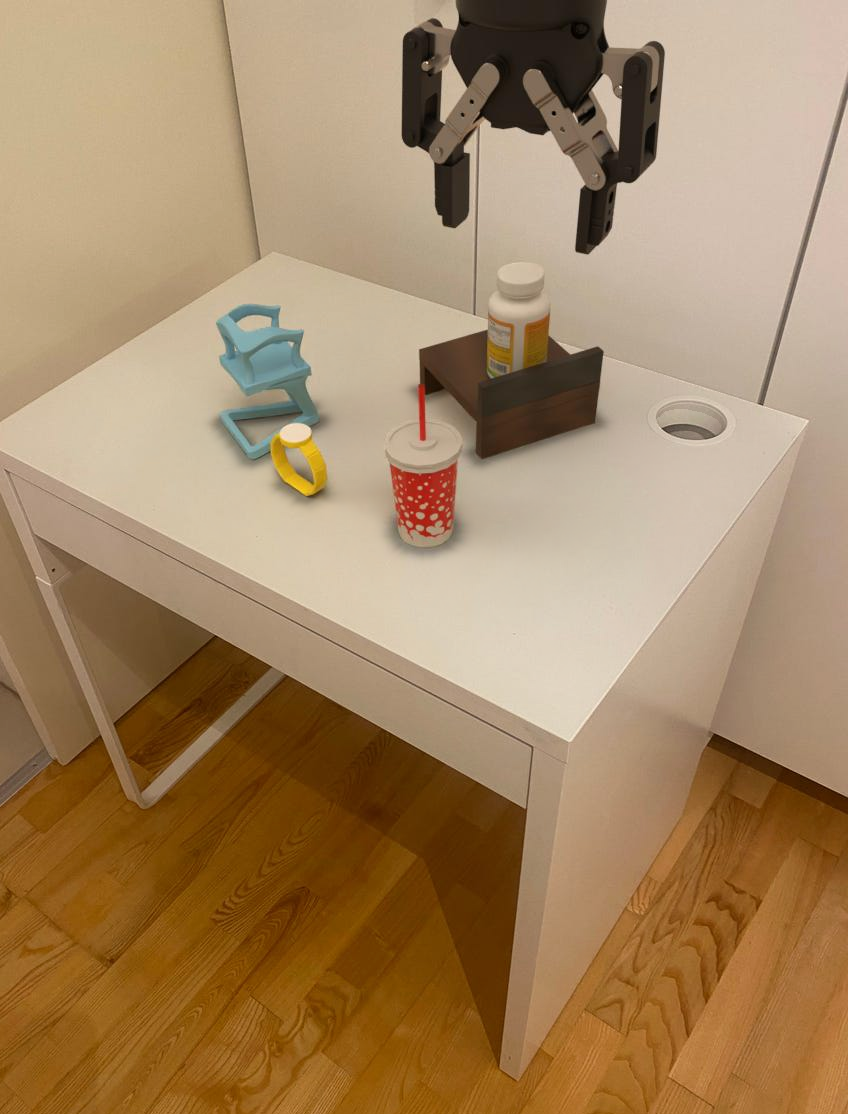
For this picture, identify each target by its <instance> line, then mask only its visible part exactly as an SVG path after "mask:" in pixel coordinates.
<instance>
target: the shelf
mask: <svg viewBox="0 0 848 1114" xmlns="http://www.w3.org/2000/svg"><path fill="white" fill-rule="evenodd" d="M487 342H488V329H485V330H481V331H477V332H474V333H470V334H466V335H463V336H460V337H457V338H453V339H449V340H446V341H443V342H439V343H437V344H433V345H429V346H426V347H422V348H419V349H418V360H419V384H424V385H425V396H428V395H431V394H435V393H438V392H441V391H444V390H446V391H447V392H448V393H449V394H450V395H451V397H452V398H454V400H455V401H456V402H457V403H458V404H459V405H460V406H461V407H462V409H463V410H464V411H465V412H466V413H467V415H469V417H471V418H472V419H473V421H474V422H475V454H476V455H477V456H478V457H479V458H480V459H481V460H483V459H487V458H490V457H492V456H496V455H499V454H502V453H505V452H508V451H511V450H514V449H517V448H520V447H523V446H527V445H530V444H532V443H535V442H540V441H542V440H545V439H548V438H551V437H555V436H557V435H561V434H564V433H567V432H569V431H570V432H571V431H573V430H576V429H580V428H582V427H586V426H589V425H592V424H595V423H596V420H597V413H598V412H597V411H598V402H599V395H600V387H601V378H602V369H603V361H604V350H603V349H602V348H601V347H600V346H594V347H591V348H587V349H584V350H580V351H577V352H574V353H569V351H568V350H566V348H564V347H563V346H561V345H560V344H559V343H558V342H557V341H556V340H555V339H554V338H552V336H550V334H548V348H547V362H544V363H541V364H538V365H534V366H531V367H528V368H524V369H521V370H518V371H514V372H511V373H508V374H505V375H501V376H498V377H495V378H490V377H489V375H488V373H487Z"/></svg>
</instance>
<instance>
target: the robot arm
mask: <svg viewBox="0 0 848 1114" xmlns="http://www.w3.org/2000/svg"><path fill="white" fill-rule="evenodd" d="M607 5H608V0H455V8H456V10H457V15H458V21H457V25H456V29H452V28H447V27H444V26H443V24H442V22H441V21H440V20H439V19H438V18H433V17H432V18H429V19H426V20H425V21H423V22H421V23H419V24H418V25H416V26H415V27H413V28H412V29H410V30H409V31H407V32H406V33H404V35H403V37H402V38H403V39H402V53H401V54H402V55H401V56H402V57H401V58H402V59H401V61H402V62H401V63H402V64H401V65H402V66H401V67H402V69H401V74H402V75H401V139H402V142H403V143H404V145H405V146H406V147H407V148H411V149H412V148H416V147H418V148H419V149H421V150H423V151H425V152H426V153H427V154H429V157H430V159H431V160H432V162H433V168H434V169H433V172H434V208H435V210H436V213H437V216H441V223H442V226H443V227H444V228H450V229H457V228H458V227H459V226H460V225H461V224H463V222H465V221H466V220H467V218H468V217H469V214H470V190H471V189H470V187H471V185H470V182H471V181H470V180H471V176H470V175H471V174H470V173H471V172H470V171H471V153H470V152H465V147H466V146H467V144H468V142H470V140H471V138H472V137H473V136H474V134H475V132H476V131H477V130H478V129H479V128H480V126H481V125H482V123H483V122H484V121H485V120H486V121H487V122H489V123H490V128H492V129H498V130H508V129H514V128H517V129H520V130H521V131H524V132H526V133H529V134H531V135H537V136H545V135H546V134H547V133H549V132H551V134H552V136H553V138H554V139H555V141H556V143H557V145H558V147H559V149H560V150H561V152H562V153H563V154H564V155H565V156H569V157H570V158H571V160H572V163H573V164H574V166H575V168H576V169H577V171H578V173H579V175H580V177H581V179H582V181H583V182H584V185H583V186H582V187H581V188H580V190H579V199H578V201H579V202H578V212H577V223H576V235H575V244H574V249H575V250H574V251H575V253H577V254H582V255H586V256H588V255H590V254H591V253H592V252H593V251H594V250H595V248H596V247H599V246H600V244H602V242H604V240H605V239H606V238H607V237H608V236H609V234H610V232H611V230H612V228H613V222H614V214H615V205H616V196H617V188H618V184H620V183H625V184H632V183H635V182H637V180H638V179H639V178H640V177H641V176H642V175H643V174H644V173H645V172H646V171H647V170H648V169H649V168H650V167H651V166H652V165H653V163H655V161H656V158H657V154H658V153H657V151H658V141H659V140H658V139H659V130H660V129H659V128H660V118H661V104H662V93H663V83H664V81H663V80H664V71H665V70H664V69H665V58H666V57H665V56H666V50H665V47H664V46H663V44H662V43H660V41H656V40H650V41H648V42H646V43H645V44H644V45H643V46H642V47H639V48H635V47H634V48H633V47H631V48H630V47H610V45H609V41H608V40H607V36H606V32H605V16H606V11H607ZM450 58H451V61H452V64H453V66H454V67H455V69H456V71H457V72H458V74H459V76H460V78H461V80H462V82H463V84H464V85H465V87H466V90H465V91H464V92H463V94H462V95H461V97H460V98H459V99H458V101H457V102H456V104H455V105H454V107H453V109H452V110H451V111H450V113H449V114H448V116H447V117H446V119H445V121H444V122H443V121H441V111H442V109H441V108H442V86H443V70H444V69H446V68H447V67H448V65H449V62H450ZM604 75H606V76H607V77H608V78H609V79H610V83H611V87H612V92H613V94H614V96H615V97H616V98H618V99H619V100H620V101H621V102H620V117H619V118H620V119H619V135H618V148H617V145H616V144H615V141H614V140H613V137H612V136H611V134H610V131H609V130H608V127H607V125H608V119H607V116H606V114H605V112H604V110H603V108H602V106H601V104H600V103H599V100H598V98H597V96H596V94H595V93H594V91H593V89H594V87H595V86H596V85H597V83H598V82H599V81H600V80H601V78H602V77H603V76H604ZM575 117H576V118H575Z"/></svg>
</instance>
